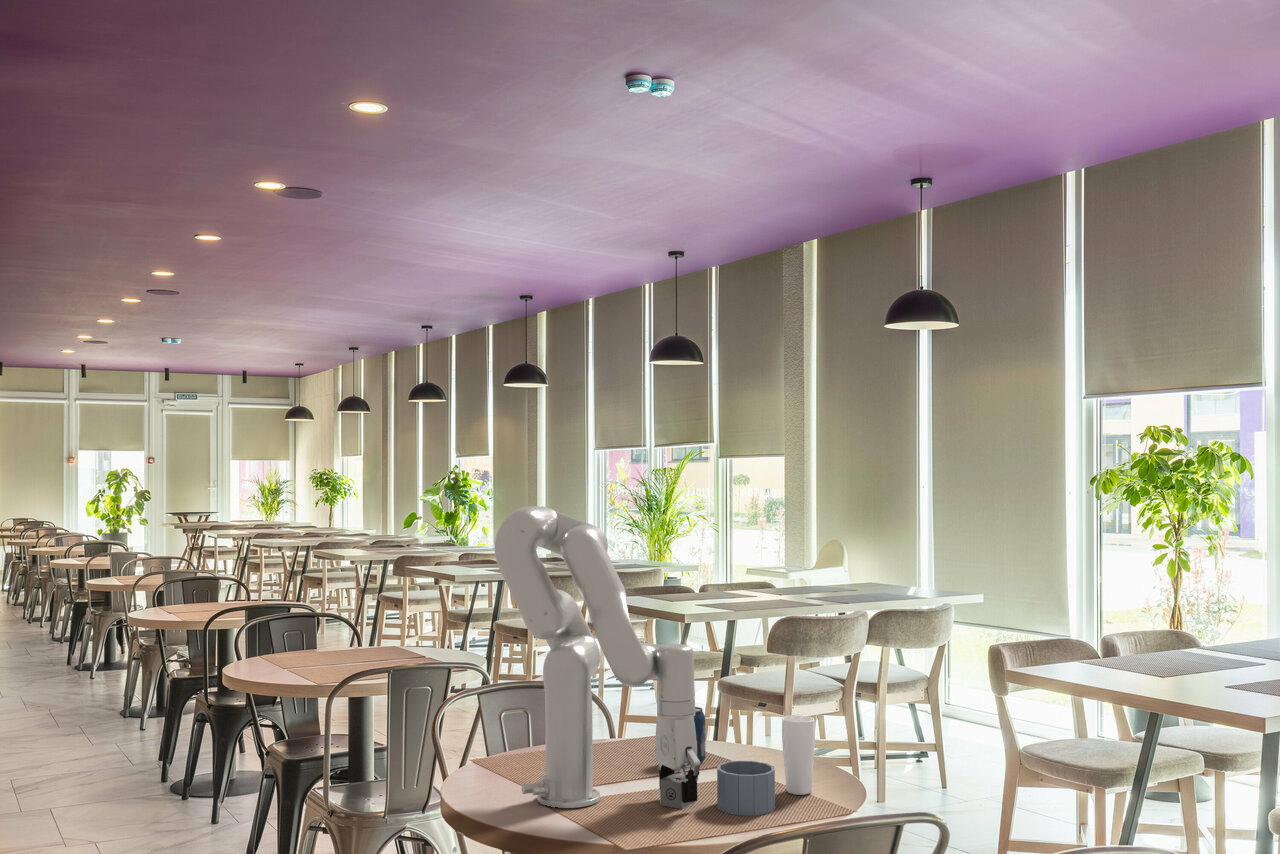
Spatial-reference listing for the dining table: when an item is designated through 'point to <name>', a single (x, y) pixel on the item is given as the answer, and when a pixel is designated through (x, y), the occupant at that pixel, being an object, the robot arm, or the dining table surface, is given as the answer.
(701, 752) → the soda can
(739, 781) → the cup
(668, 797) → the dice cube
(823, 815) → the dining table surface
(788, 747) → the drinking glass
